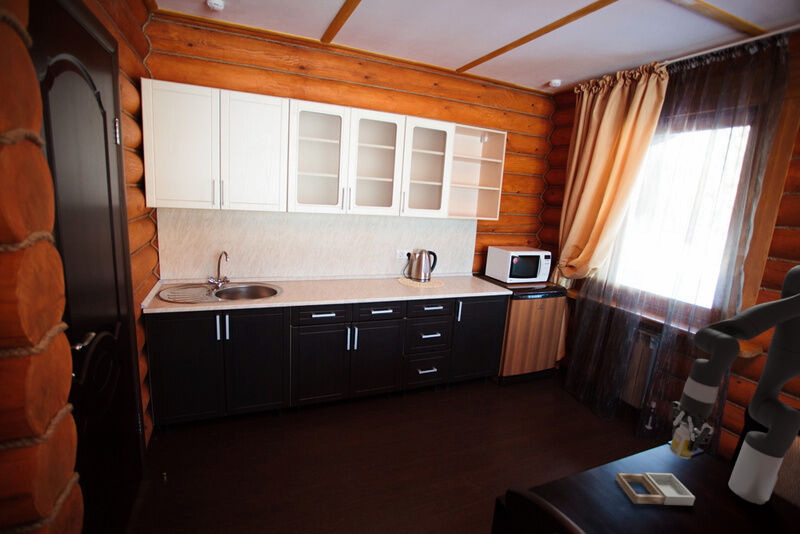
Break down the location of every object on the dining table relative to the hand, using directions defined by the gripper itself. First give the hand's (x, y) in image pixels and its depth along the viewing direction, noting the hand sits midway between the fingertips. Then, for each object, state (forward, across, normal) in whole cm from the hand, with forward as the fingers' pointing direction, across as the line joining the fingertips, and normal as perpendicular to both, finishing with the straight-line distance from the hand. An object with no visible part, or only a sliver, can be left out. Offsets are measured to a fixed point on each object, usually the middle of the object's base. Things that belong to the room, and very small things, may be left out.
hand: (683, 443), depth 115 cm
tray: (+18, 0, 0) cm, 18 cm away
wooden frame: (+18, 0, +10) cm, 21 cm away
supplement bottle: (+4, 0, 0) cm, 4 cm away
